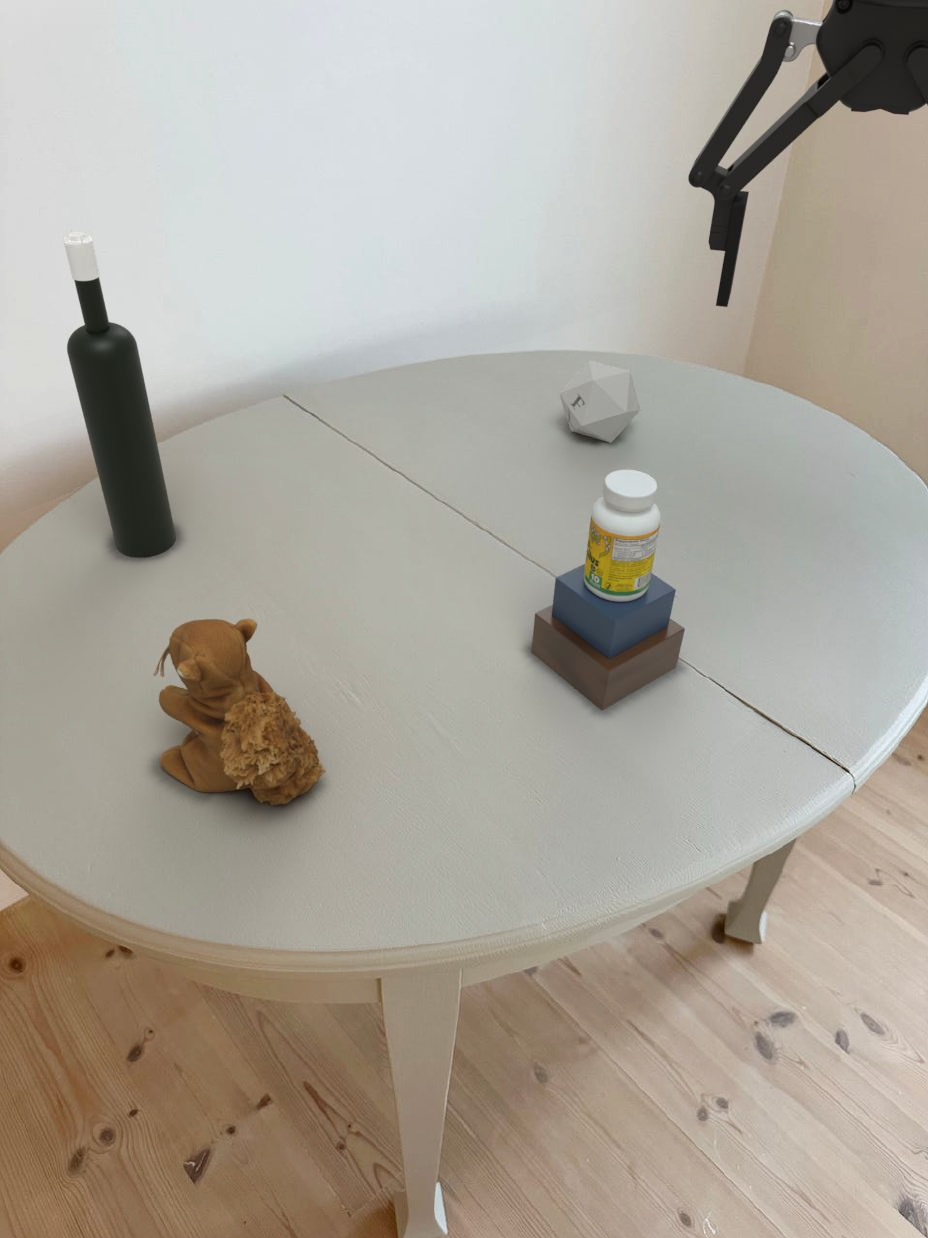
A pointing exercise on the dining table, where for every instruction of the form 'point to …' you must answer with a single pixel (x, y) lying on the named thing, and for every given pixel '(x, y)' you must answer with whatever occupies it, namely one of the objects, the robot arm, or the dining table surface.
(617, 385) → the die
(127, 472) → the wine bottle
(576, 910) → the dining table surface
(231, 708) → the stuffed squirrel
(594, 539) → the supplement bottle
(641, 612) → the top block
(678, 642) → the base block
